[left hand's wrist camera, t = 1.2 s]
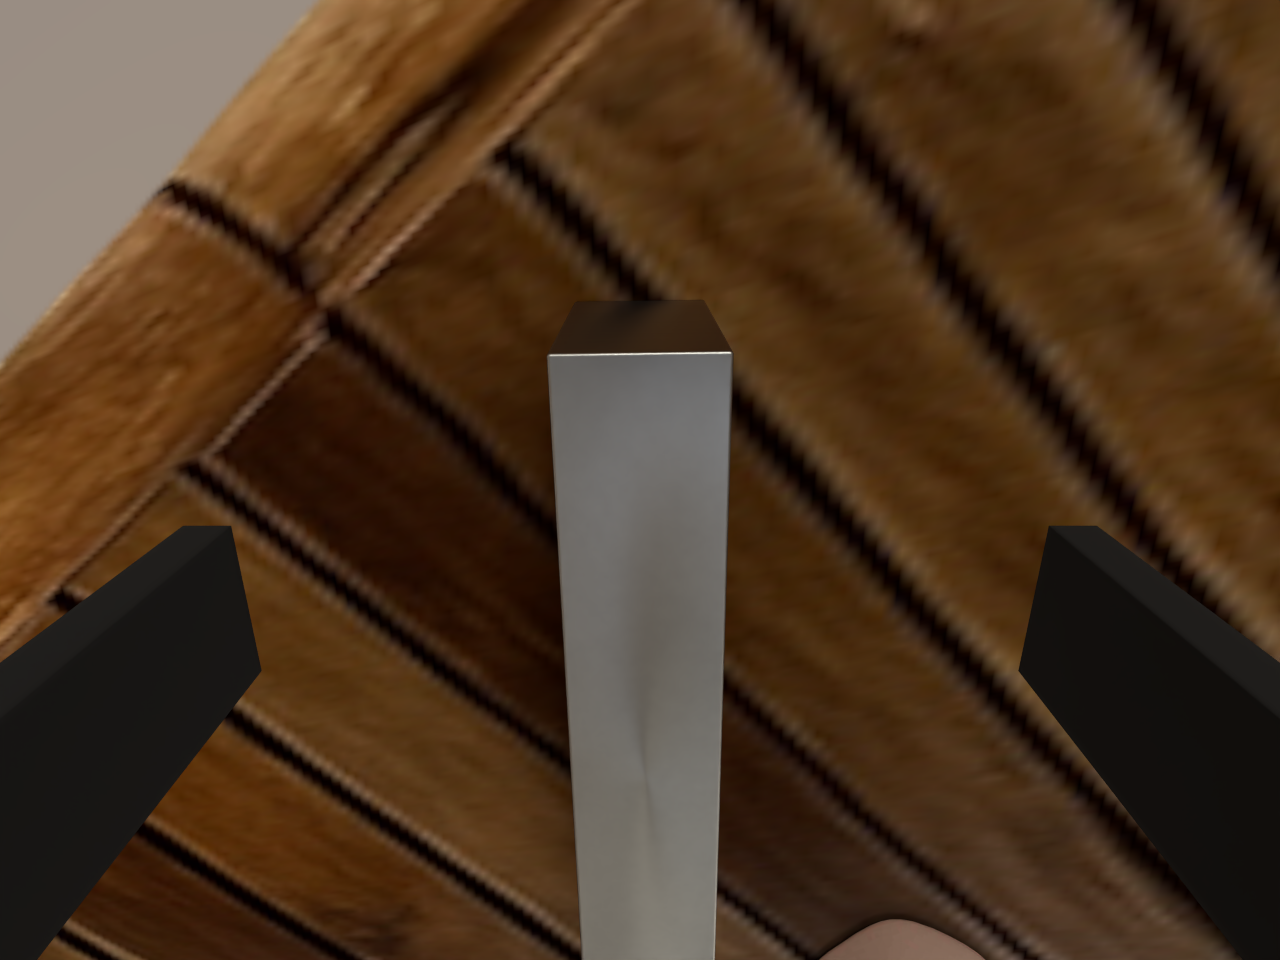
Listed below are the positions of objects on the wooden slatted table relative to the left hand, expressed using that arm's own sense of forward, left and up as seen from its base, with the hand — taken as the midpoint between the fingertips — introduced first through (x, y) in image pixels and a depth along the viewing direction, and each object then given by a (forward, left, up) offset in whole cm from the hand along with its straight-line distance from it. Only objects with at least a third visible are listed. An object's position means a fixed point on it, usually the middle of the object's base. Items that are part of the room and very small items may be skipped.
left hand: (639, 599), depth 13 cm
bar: (-7, +7, -16) cm, 19 cm away
